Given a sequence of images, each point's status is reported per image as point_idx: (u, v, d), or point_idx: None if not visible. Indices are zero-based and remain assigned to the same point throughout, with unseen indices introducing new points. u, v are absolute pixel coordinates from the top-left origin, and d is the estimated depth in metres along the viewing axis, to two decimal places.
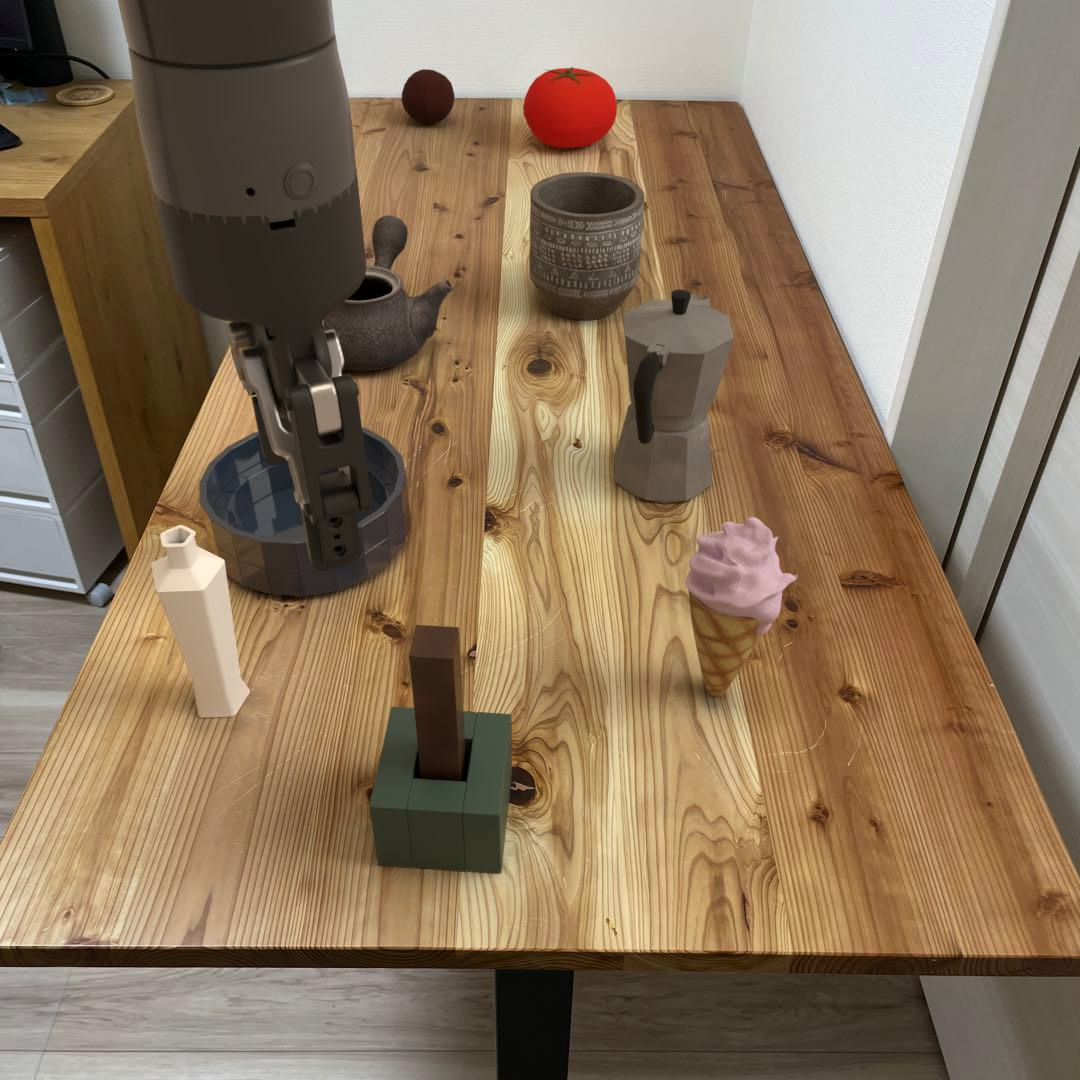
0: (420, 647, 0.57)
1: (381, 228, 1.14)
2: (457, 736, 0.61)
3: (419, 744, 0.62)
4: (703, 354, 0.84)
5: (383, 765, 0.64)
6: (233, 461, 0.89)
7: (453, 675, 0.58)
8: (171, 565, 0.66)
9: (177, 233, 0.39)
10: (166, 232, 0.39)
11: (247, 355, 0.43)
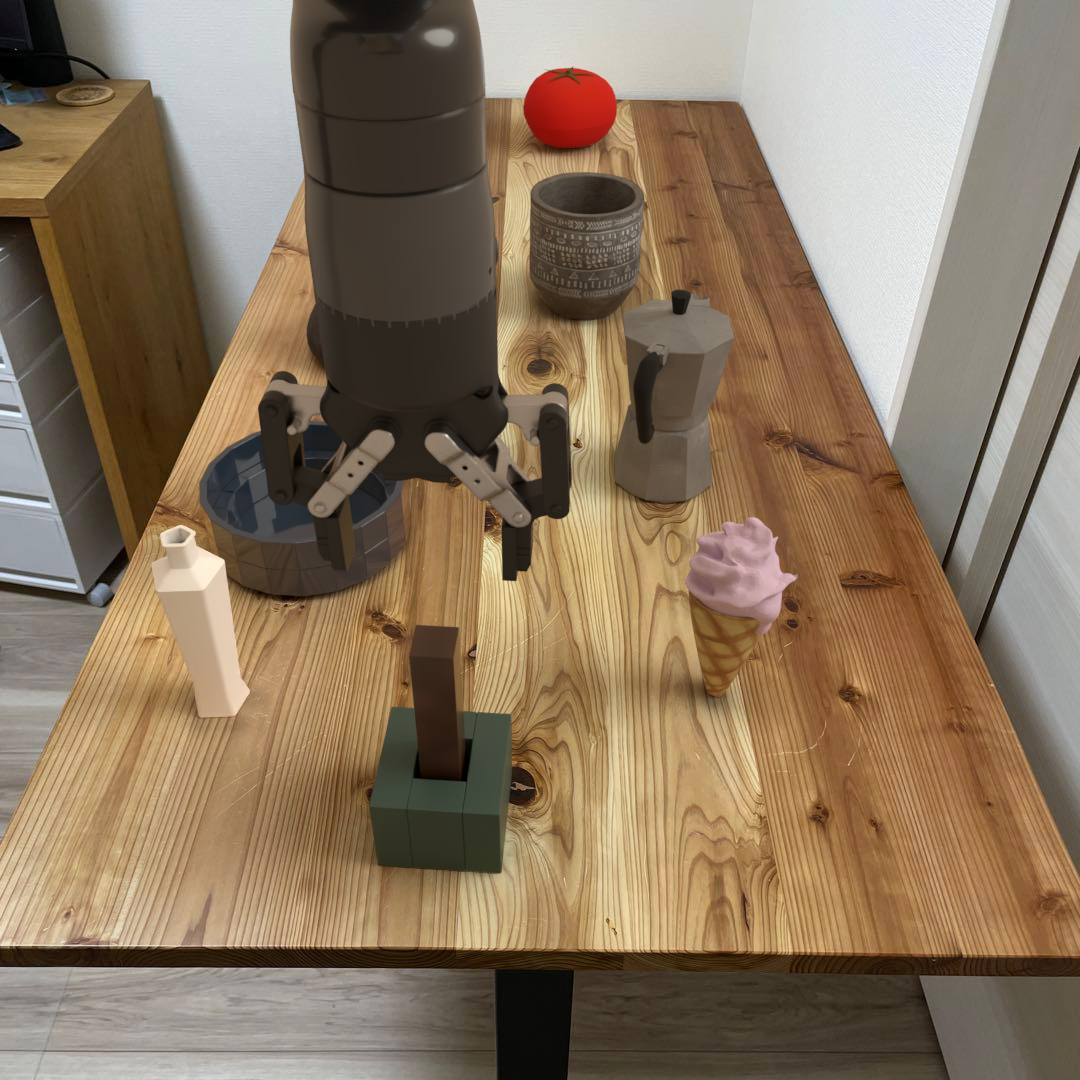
0: (420, 647, 0.57)
1: None
2: (457, 736, 0.61)
3: (419, 744, 0.62)
4: (703, 354, 0.84)
5: (383, 765, 0.64)
6: (233, 461, 0.89)
7: (453, 675, 0.58)
8: (171, 565, 0.66)
9: (432, 342, 0.42)
10: (409, 351, 0.42)
11: (445, 432, 0.47)
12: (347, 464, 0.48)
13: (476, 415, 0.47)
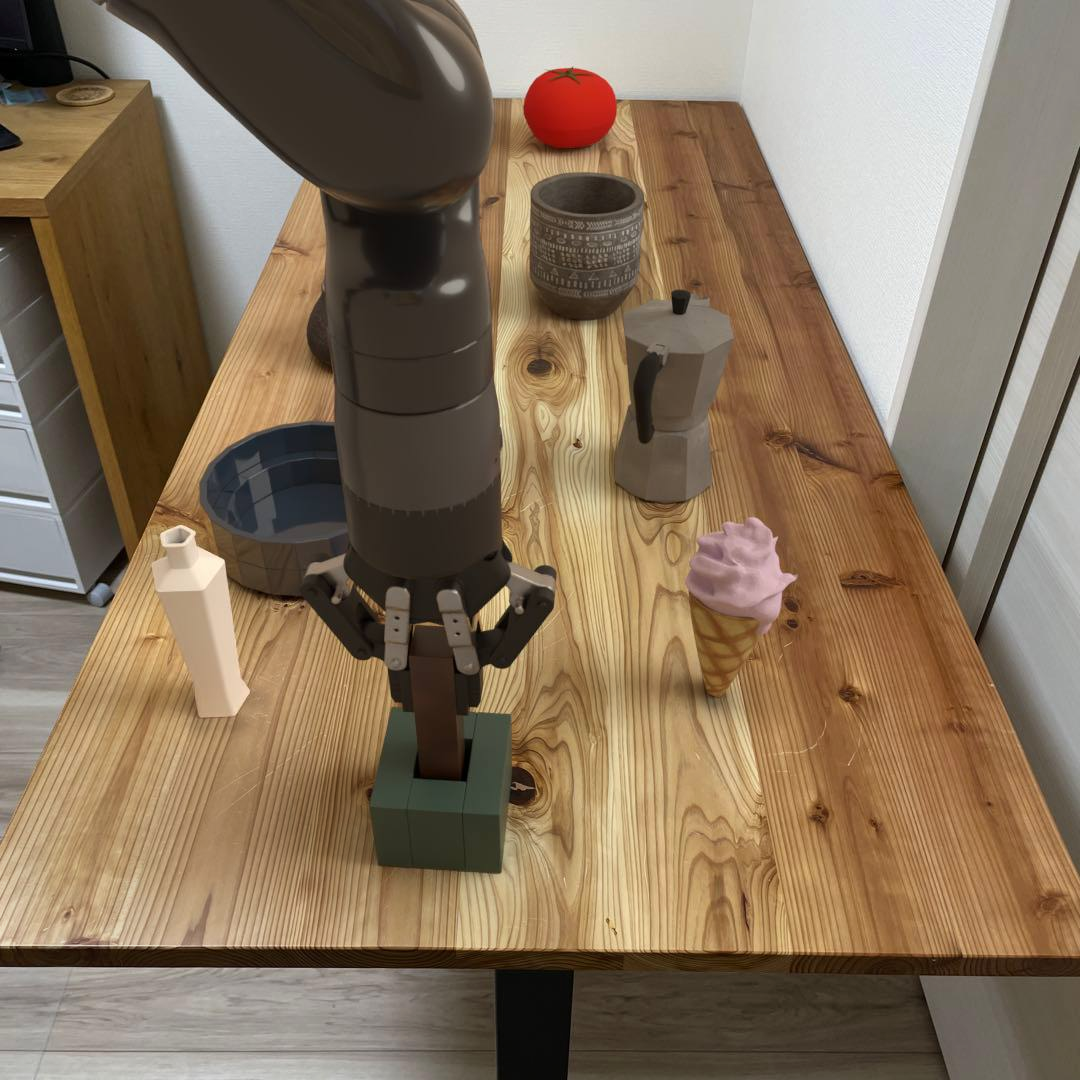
0: (420, 647, 0.57)
1: None
2: (457, 736, 0.61)
3: (419, 744, 0.62)
4: (703, 354, 0.84)
5: (383, 765, 0.64)
6: (233, 461, 0.89)
7: (453, 675, 0.58)
8: (171, 565, 0.66)
9: (445, 525, 0.48)
10: (425, 533, 0.48)
11: (459, 593, 0.53)
12: (388, 623, 0.55)
13: (482, 573, 0.53)
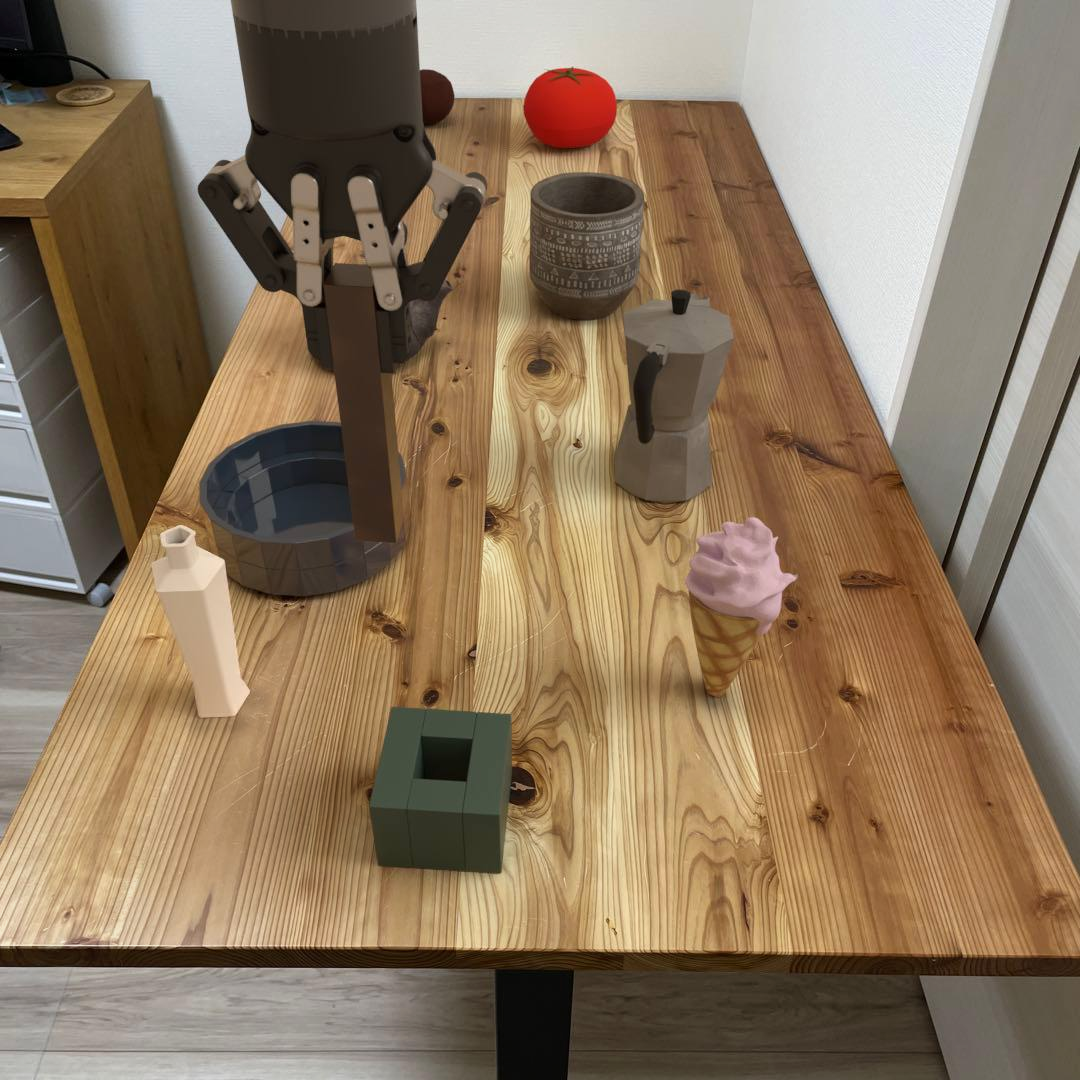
0: (337, 278, 0.52)
1: None
2: (382, 401, 0.55)
3: (341, 413, 0.56)
4: (703, 354, 0.84)
5: (383, 765, 0.64)
6: (233, 461, 0.89)
7: (373, 312, 0.52)
8: (171, 565, 0.66)
9: (346, 58, 0.42)
10: (323, 67, 0.42)
11: (373, 182, 0.47)
12: (296, 230, 0.49)
13: (399, 161, 0.47)
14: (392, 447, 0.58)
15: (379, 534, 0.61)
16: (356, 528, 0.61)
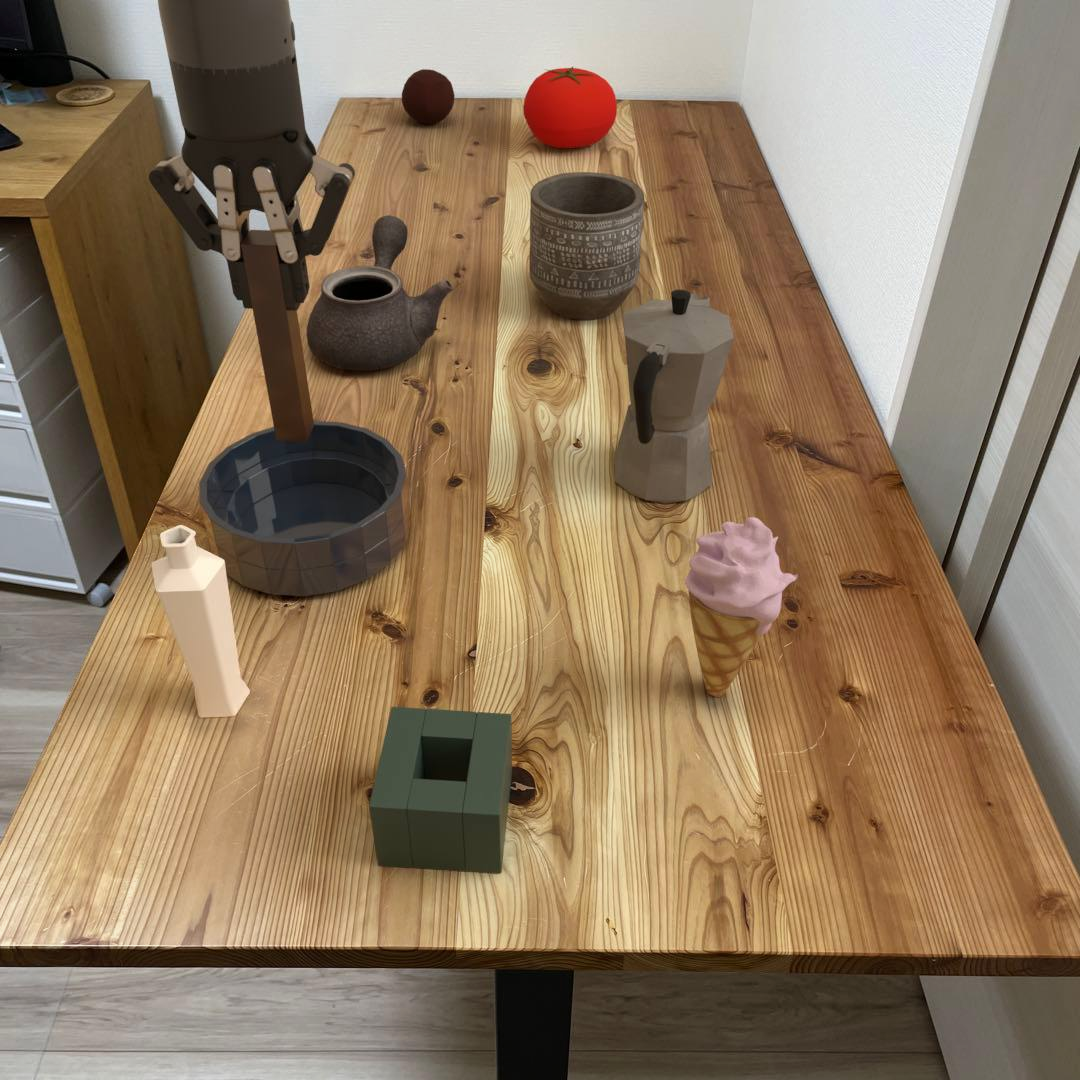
0: (251, 240, 0.72)
1: (381, 228, 1.14)
2: (289, 331, 0.76)
3: (259, 341, 0.76)
4: (702, 354, 0.84)
5: (383, 765, 0.64)
6: (233, 461, 0.89)
7: (278, 264, 0.72)
8: (171, 565, 0.66)
9: (244, 86, 0.63)
10: (229, 92, 0.63)
11: (270, 171, 0.68)
12: (219, 205, 0.69)
13: (288, 155, 0.68)
14: (300, 367, 0.79)
15: (294, 435, 0.81)
16: (276, 431, 0.81)
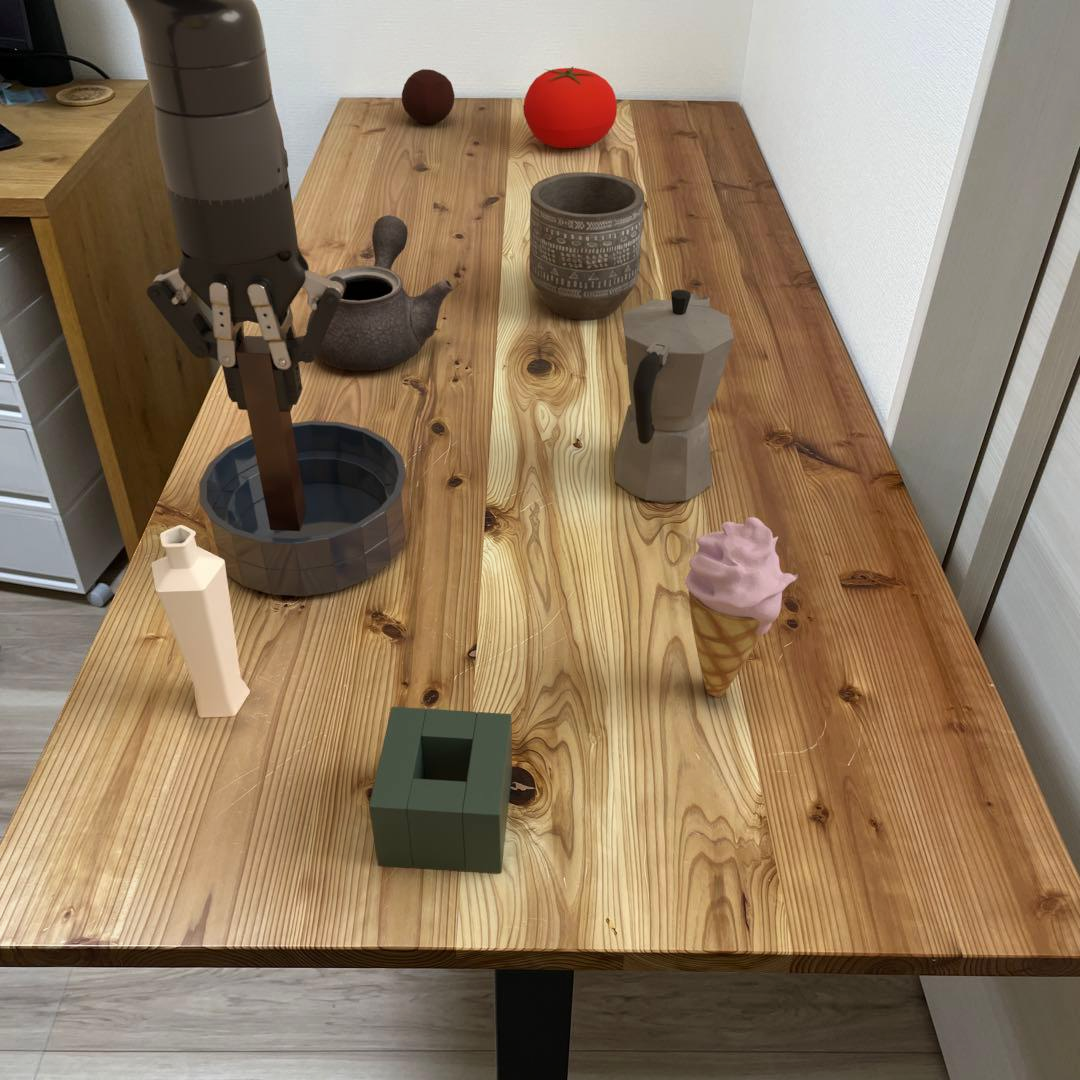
0: (246, 347, 0.75)
1: (381, 228, 1.14)
2: (282, 431, 0.78)
3: (254, 439, 0.79)
4: (702, 354, 0.84)
5: (383, 765, 0.64)
6: (233, 461, 0.89)
7: (271, 370, 0.75)
8: (171, 565, 0.66)
9: (240, 215, 0.65)
10: (225, 221, 0.65)
11: (265, 287, 0.70)
12: (215, 318, 0.72)
13: (282, 273, 0.70)
14: (293, 462, 0.81)
15: (287, 525, 0.84)
16: (270, 521, 0.84)
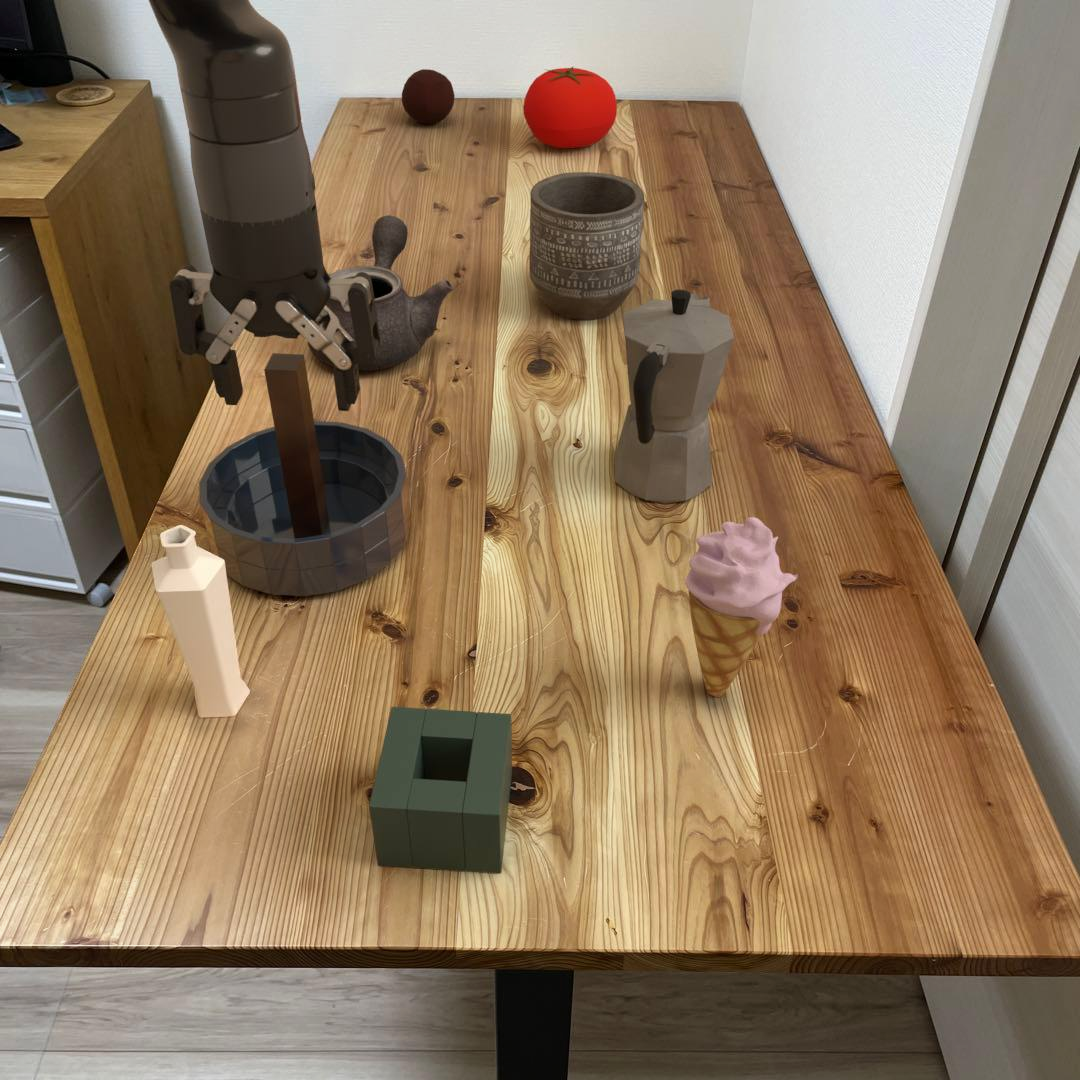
0: (273, 364, 0.78)
1: (381, 228, 1.14)
2: (307, 443, 0.82)
3: (280, 451, 0.83)
4: (703, 354, 0.84)
5: (383, 765, 0.64)
6: (233, 461, 0.89)
7: (298, 386, 0.79)
8: (171, 565, 0.66)
9: (269, 236, 0.69)
10: (255, 242, 0.69)
11: (288, 301, 0.73)
12: (228, 324, 0.75)
13: (308, 290, 0.74)
14: (316, 473, 0.85)
15: (310, 532, 0.88)
16: (294, 529, 0.88)
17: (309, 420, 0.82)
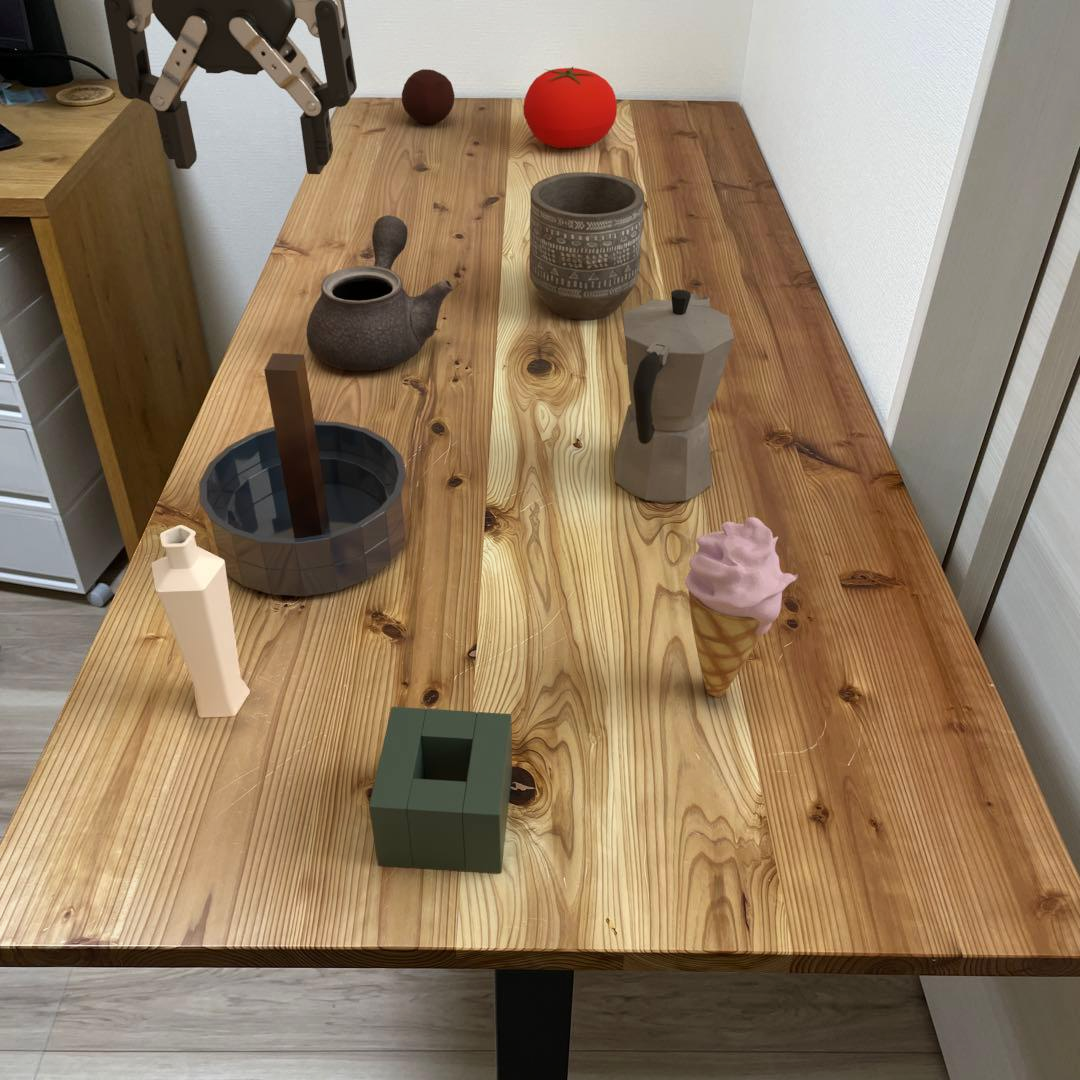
0: (273, 364, 0.78)
1: (381, 228, 1.14)
2: (307, 443, 0.82)
3: (280, 451, 0.83)
4: (703, 354, 0.84)
5: (383, 765, 0.64)
6: (233, 461, 0.89)
7: (298, 386, 0.79)
8: (171, 565, 0.66)
9: None
10: None
11: (244, 18, 0.62)
12: (174, 52, 0.63)
13: (268, 6, 0.62)
14: (316, 473, 0.85)
15: (310, 532, 0.88)
16: (294, 529, 0.88)
17: (309, 420, 0.82)
